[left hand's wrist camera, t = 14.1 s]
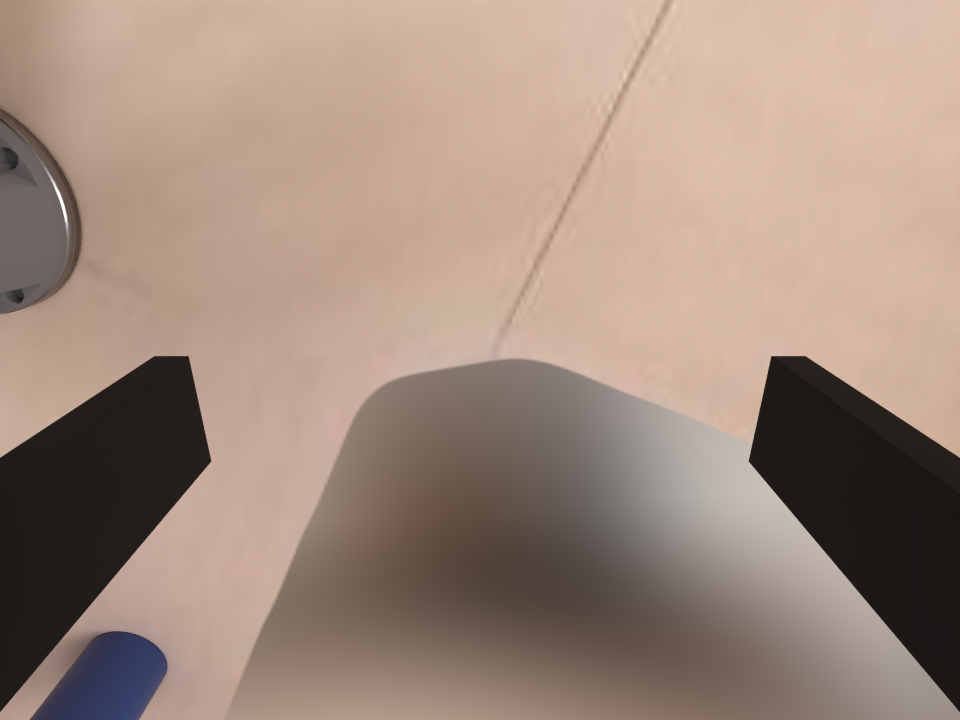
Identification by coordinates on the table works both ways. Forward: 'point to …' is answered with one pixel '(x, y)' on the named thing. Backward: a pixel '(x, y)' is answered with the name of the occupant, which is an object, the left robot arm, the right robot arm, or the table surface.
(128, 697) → the canister
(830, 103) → the table surface
